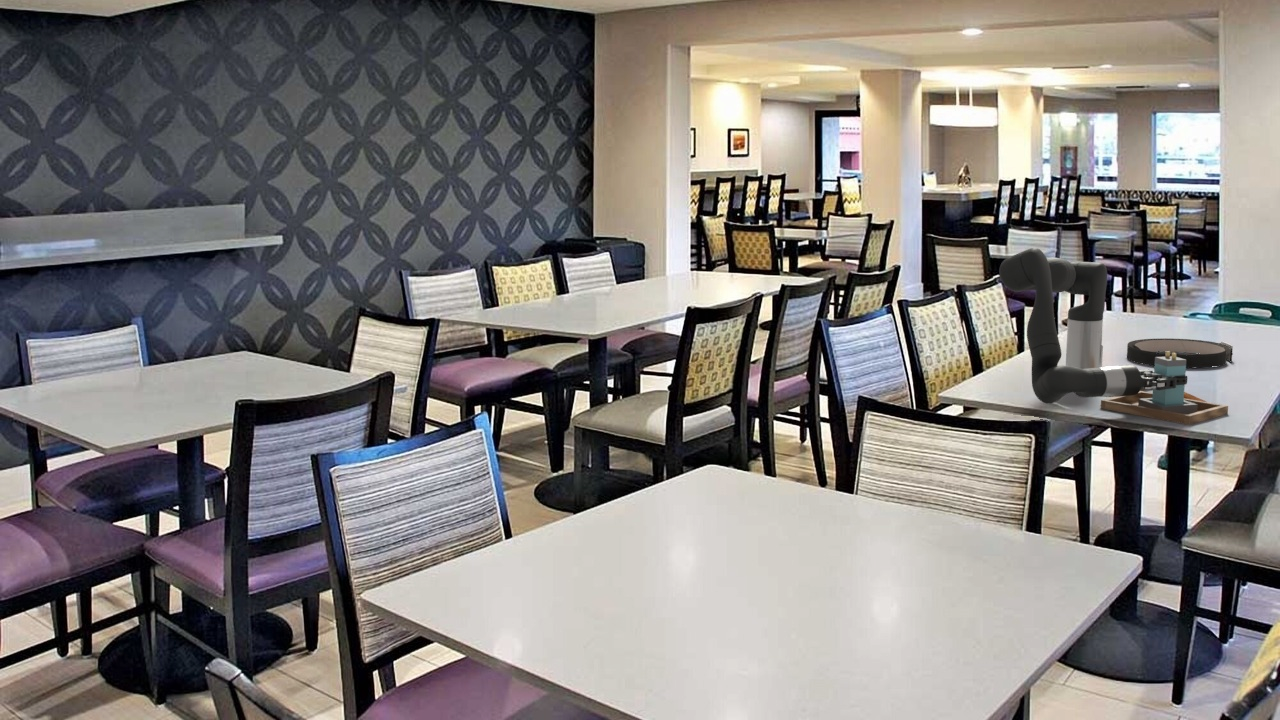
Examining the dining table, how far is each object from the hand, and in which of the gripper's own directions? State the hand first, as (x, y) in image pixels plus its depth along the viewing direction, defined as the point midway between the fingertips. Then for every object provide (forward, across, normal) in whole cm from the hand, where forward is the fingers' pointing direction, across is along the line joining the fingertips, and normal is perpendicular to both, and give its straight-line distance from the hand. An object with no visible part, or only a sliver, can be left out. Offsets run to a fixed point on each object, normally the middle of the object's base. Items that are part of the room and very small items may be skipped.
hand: (1178, 377), depth 280 cm
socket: (-3, 0, +8) cm, 9 cm away
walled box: (-3, +1, +9) cm, 9 cm away
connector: (-3, 0, +7) cm, 8 cm away
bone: (+7, +17, +9) cm, 20 cm away
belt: (+45, +63, +9) cm, 78 cm away
